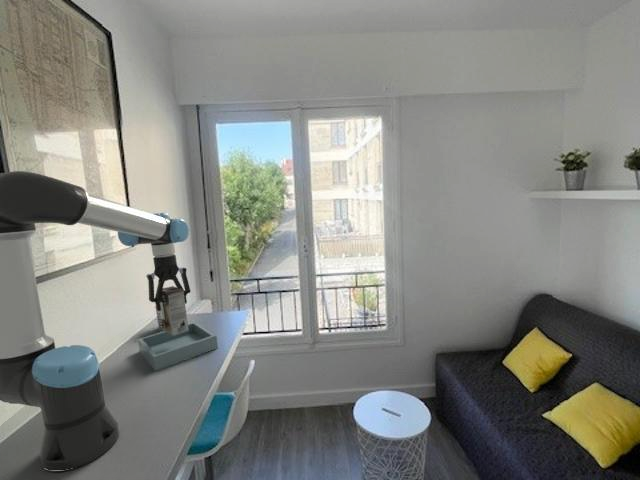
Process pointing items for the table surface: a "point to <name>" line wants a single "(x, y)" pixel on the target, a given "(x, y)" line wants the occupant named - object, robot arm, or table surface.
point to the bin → (176, 346)
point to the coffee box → (174, 311)
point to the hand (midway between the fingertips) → (173, 315)
